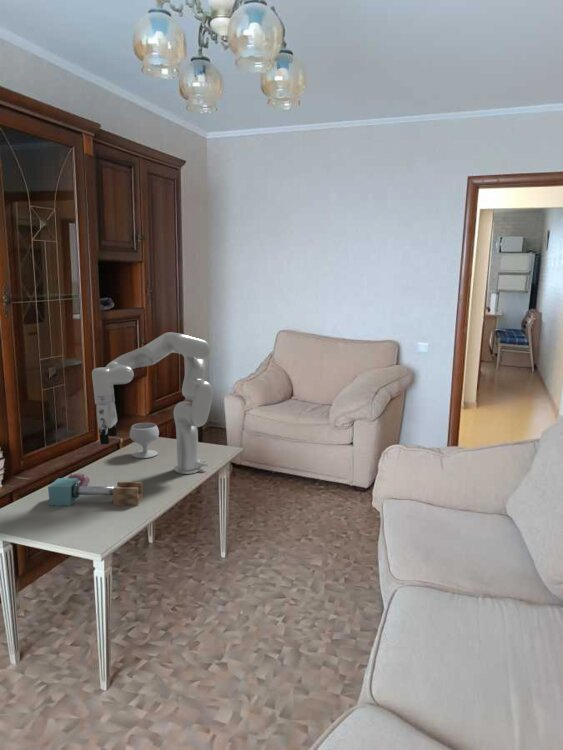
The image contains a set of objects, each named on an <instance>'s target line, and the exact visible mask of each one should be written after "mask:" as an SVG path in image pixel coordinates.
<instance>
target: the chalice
mask: <svg viewBox="0 0 563 750" xmlns="http://www.w3.org/2000/svg"><path fill="white" fill-rule="evenodd" d="M159 430H160V429H159V428H158V426H157V424H156V423H154V422H138V423H135V424H133V425H132V426H131V427H130V430H129V438H130V440H131V441H132V442H134V443H136V444H139V445H141V446H142V450H137V451H135V452H134V453H133V454H132V457H133V458H136V459H150V458H152V457H153V458H154V457H156V456H157V455H158V454H159V452H158V451H157V450H152V449H148V446H149V445H150V444H151V443H154V442H155V441H156V440H157V439H158V438H159V437H160V436H159V435H160V431H159Z"/></svg>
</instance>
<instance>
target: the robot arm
mask: <svg viewBox="0 0 563 750" xmlns="http://www.w3.org/2000/svg"><path fill="white" fill-rule="evenodd" d="M172 353H174V354H178V355H182V357H183V358H184V359H185V364H186V366H185V367H186V368H185V374H184V378H183V382H182V387H181V395H182V396H183V397H184V398H186V399H188V400H192V402H191V401H180V402H178V403H176V404H175V406H174V409H173V419H174V423H175V432H176V433H175V434H176V459H177V460H176V461H177V462H176V463H177V464H175V466H174V467H173V471H174V472H175V473H178V474H180V475H181V474H182V475H190V474H195V473H198V472H199V473H200V472H201V471H202V470H203V468H204V467H205V468H207V467H209V462H208V461H206V460H201V458H200V457H199V434H198V433H199V430H198V428H199V427H203V426H204V425H205V424H206V422H207V421H208V418H209V415H210V412H211V406H212V403H213V398H214V389H213V386H212V384H211V383H210V382H208V381H207V380H205V375H206V367H207V366H206V362H205V359H206V358H208V357H209V355H210V354H211V346H210V344H209V342H208V341H206V340H204V339H202V338H201V339H200V338H196V337H194V336H191V335H187V334H183V333H178V332H172V331H169V332H168V331H167V332H165V333H163V334H161V335H160V336H158V337H157V338H154V339H153V340H152V341H150V342H148V343H147V344H145V345H144V346H142V347H139V348H136V349H133V350H131V351H129V352H126V353H124V354H121V355H120V356H118V357H117V358H115V359H113V360H112V361H110V362H109V363H107V364H106V366H105V367H101V366H100V367H96V368H93V370H92V371H91V378H92V385H93V394H94V395H93V397H94V404H95V405H96V418H97V419H96V420H97V428H98V434H99V440H100V444H101V445H109V444H110V439H109V437H116V436H118V434H117V432H118V431H117V426H116V425H117V422H118V414H117V409H116V408H117V407H116V403H115V402H116V398H115V389H114V385H127V384H128V383H130V382H131V381H133V378H134V377H135V374H134V369H137V368H142V367H149V366H152V365H155V364H157V363H158V362H160V361H161V360H162V359H164V358H165V357H167V356H169V355H170V354H172Z"/></svg>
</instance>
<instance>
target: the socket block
mask: <svg viewBox="0 0 563 750" xmlns="http://www.w3.org/2000/svg"><path fill="white" fill-rule="evenodd" d="M74 484H79V481H78V478H68V477H67V478H65V477H64V478H63V477H61V478H59V477H58V478H57V479H55V480H54V481H53V482H52V483H51V484H50V485H48V487H47V488H48V501H49V502H48V503H49V506H50V505H65V506H64V507H70V506H72V505H73V504H74V503H75V502H76V501H77V500H78V498H74V497H73V496H72V489H71V487H72V486H73V485H74ZM76 499H77V500H76ZM75 500H76V501H75ZM74 501H75V502H74ZM73 502H74V503H73ZM66 505H67V506H66Z"/></svg>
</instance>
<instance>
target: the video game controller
mask: <svg viewBox="0 0 563 750" xmlns="http://www.w3.org/2000/svg"><path fill="white" fill-rule="evenodd" d="M67 478H78V484H80V486H88V484H90V480H91V479H90V477H89V476H88V475H86V474H84V473H77V472H76V473H72V474H69V475H68V477H67Z"/></svg>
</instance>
